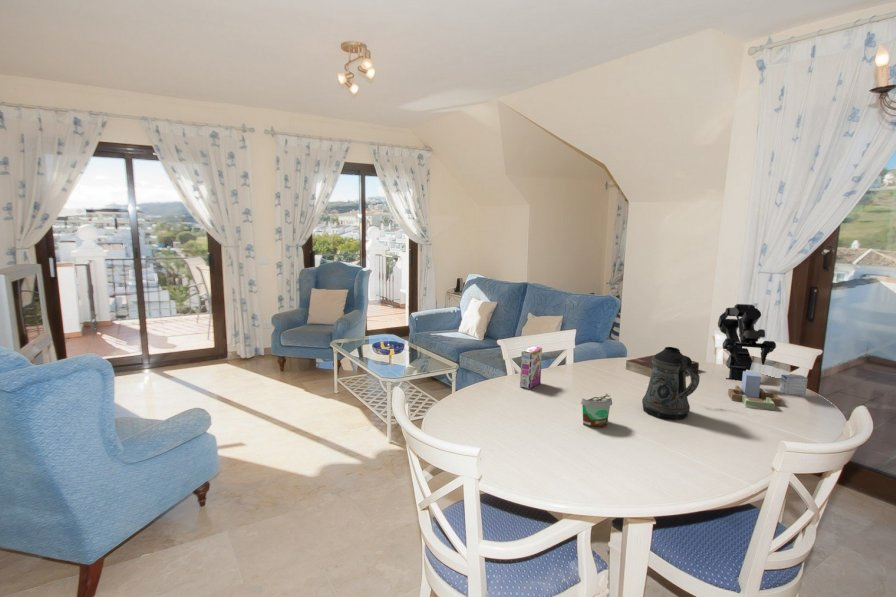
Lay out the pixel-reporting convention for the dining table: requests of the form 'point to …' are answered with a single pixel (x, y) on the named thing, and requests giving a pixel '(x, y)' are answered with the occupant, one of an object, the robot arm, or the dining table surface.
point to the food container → (596, 411)
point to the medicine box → (793, 384)
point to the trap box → (755, 399)
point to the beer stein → (670, 385)
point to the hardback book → (646, 365)
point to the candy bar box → (531, 367)
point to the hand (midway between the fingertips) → (750, 363)
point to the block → (751, 384)
